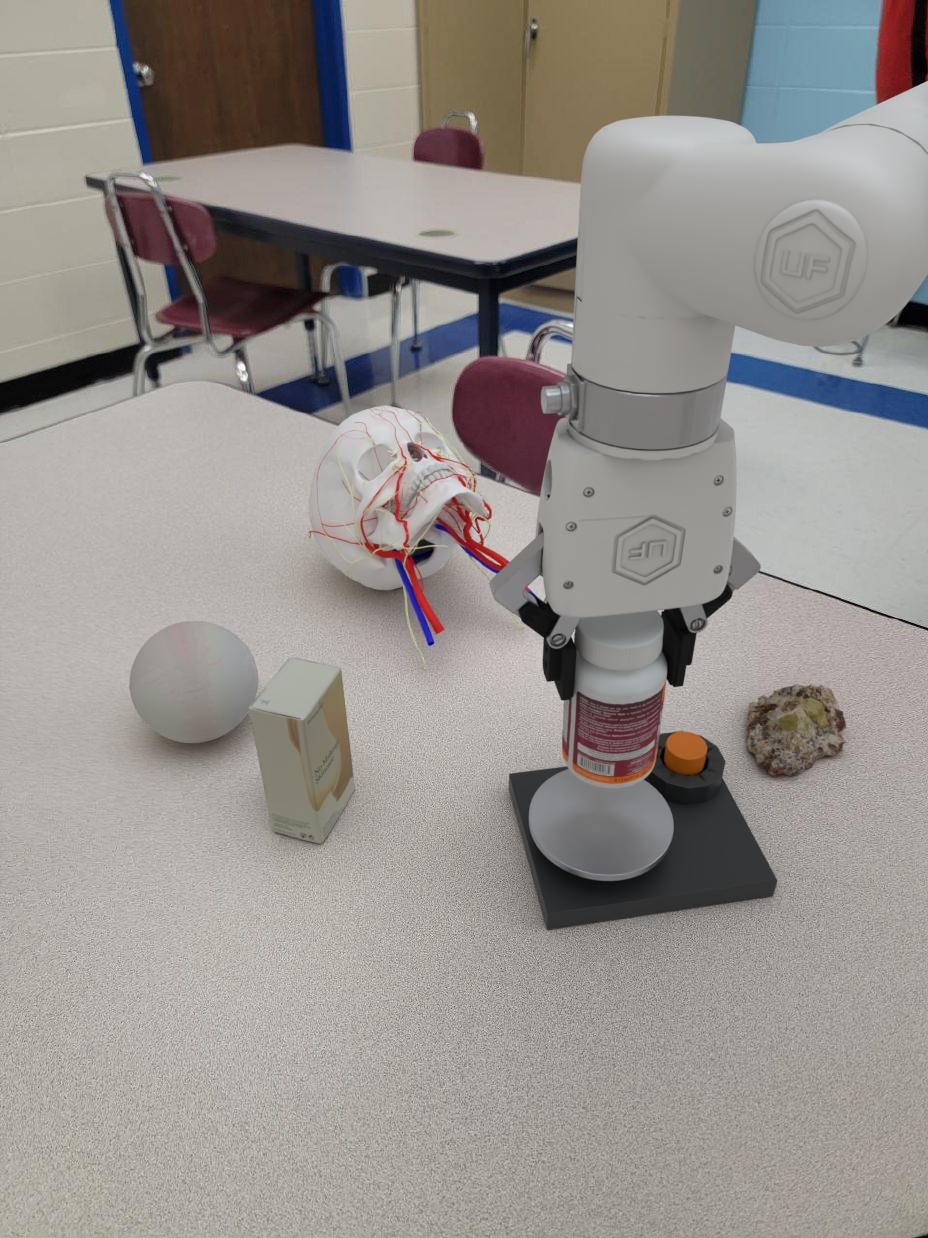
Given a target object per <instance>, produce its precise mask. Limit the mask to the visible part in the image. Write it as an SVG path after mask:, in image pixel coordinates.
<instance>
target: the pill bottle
mask: <svg viewBox="0 0 928 1238" xmlns="http://www.w3.org/2000/svg"><path fill="white" fill-rule="evenodd" d="M663 630H664V623H663V619H662V617H661V613H660V612H659V610H656V611H647V612H638V613H629V614H619V615H610V616H600V617H589V618H581V619H580V621H579V623H578V625H577V626H576V628H575V630H574V635H573V642H574V644H575V646H576V650H577V656H576V669H575V683H574V696H573V697H571V699H570V700H563V711H562V731H561V754H562V758H563V761H564V763H565V766H567V767H568V768H569V770H570V771H571V772H572V773H573V774H574V775H575V776H576V777H577V778H579V779H580V780H582V781H584V782H585V783H588V784H590V785H593V786H597V787H602V788H624V787H629V786H632V785H635V784H637V783H639V782H641V781H642V780H644V779H645V778H646V777H647V776H648V775H649V774H650V773H651V771H652V769H653V767H654V765H655V761H656V755H657V749H658V742H659V735H660V734H661V726H662V718H663V713H664V706H665V705H664V703H665V696H666V688H667V670H668V668H667V662H666V658H665V656H664V654H663V652H662V651H661V650H662V644H663Z"/></svg>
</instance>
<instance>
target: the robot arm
mask: <svg viewBox="0 0 928 1238" xmlns="http://www.w3.org/2000/svg"><path fill="white" fill-rule="evenodd" d="M579 190H580V191H579V209H578V224H577V225H578V229H577V246H576V262H575V263H576V264H575V265H576V266H575V281H574V282H575V285H574V301H573V318H572V319H573V320H572V337H571V338H572V340H571V356H570V357H571V358H570V359H571V360H570V363H567V364H566V375H564V378H563V381H558V382H556V384H555V385H544V386H542V387H541V390H540V405H541V410H542V413H543V414H544V415H549V414H550V415H551V414H557V415H558V416H564V417H562V418H560V419H559V420H557V422H556V425H555V427H554V432H553V434H552V435H553V436H552V439H551V442H550V445H549V450H548V454H547V459H546V463H545V467H544V473H543V478H542V482H541V488H540V495H539V502H538V509H537V515H536V516H537V517H536V526H535V537H534V539H532V540H531V541H530V542H529V543H528V545H526V546H525V547H524V548H523V549H522V550H521V551H520V552H518V554H517V555H515V557H513V559H511V560H510V561H509V563H508V564H507V565H506V566H505V567H504V568H503V569H502V570H501V571H500V572H499V573H498V574H495V575H494V576H493V577H492V578H491V581H490V580H489V588H490V591H491V594H492V597H493V600H494V601H495V602H497V603H498V604H499V605H501V606H502V607H503V608H504V609H506V610H507V611H509V612H510V613H511V614H512V613H513V614H514V615H515V616H516V617H518V618H519V619H520V621H521V622H522V623H523V624H524V625H526V626H527V627H528V628H529V629H531V630H532V631H533V632H535V633H536V634H538V635H539V636H540V637H542V638H543V643H542V644H543V645H542V671H543V675H544V678H545V681H546V682H547V683H549V682H554V686H555V688H556V691H557V693H558V696H559V698H560V699H559V700H561V701H563V702H564V700H570V699H571V697H573V696H574V683H575V669H576V656H577V650H576V646H575V644H574V638H573V637H572V635H573V633H575V628H576V626H577V625H578V623H579V621H580V619H581V618H589V617H600V616H610V615H619V614H629V613H638V612H647V611H656V610H657V611H661V613H660V615H661V617H662V619H663V623H664V630H663V644H662V650H661V651H662V652H663V654H664V656H665V658H666V662H667V668H668V670H667V680H666V682H668V684H669V686H672V688H680V687H683V686H684V683H685V677H686V672H687V667H688V666H691V665H692V664H693V658H694V651H695V646H696V640H697V635H698V633H701V632H703V631H704V630H705V629H706V628H707V626H708V624H709V623H708V622H709V621H708V619H709V618H710V617H711V616H713V615H714V614H715V613H716V612H718V611H719V609H721V608H722V607H723V606H725V605H726V604H727V603H728V602H729V601H730V600H731V599H732V597H733V594H734V592H735V591H736V590H737V591H738V590H739V589H740V588H742V587H743V586H744V585H746V583H748V582H749V581H750V580H751V579H752V578H754V577H755V576H756V575H757V574H758V573H759V572H760V570H761V568H762V567H761V566H762V565H761V563H760V562H759V561H758V559H757V558H756V557H755V556H754V554H753V553H752V552H751V551H750V550H749V549H748V548H747V547H746V546H745V545H744V544H743V543H742V542H741V541H740V540H738V538H736V537H735V526H736V525H735V524H736V512H737V511H736V510H737V450H736V449H737V448H736V436H735V430H734V428H733V427H732V426H731V425H730V424H729V423H727V422H726V421H724V419H722V418H721V417H722V412H723V405H724V399H725V393H726V387H727V380H728V373H729V368H730V362H731V354H732V351H733V350H732V348H733V343H734V337H735V332H736V331H735V330H736V327H739V328H741V329H744V330H747V331H750V332H752V333H755V334H758V335H761V336H764V337H766V338H770V339H773V340H776V341H779V342H783V343H787V344H792V345H796V346H803V347H817V348H821V347H833V346H841V345H846V344H849V343H853V342H855V341H857V340H860V339H862V338H865V337H867V336H869V335H872V334H873V333H874V332H876V331H878V330H880V329H881V328H882V327H884V326H886V324H888V323H889V322H890V321H891V320H893V319H894V318H895V317H896V316H897V315H898V314H899V313H900V312H901V311H902V310H903V309H904V308H905V307H906V305H907V304H908V303H909V301H911V299H913V296H914V295H915V293H916V292H917V291H918V289H919V288H920V286H921V285H922V283H923V282H924V281H925V279H926V278H927V277H928V80H927V81H925V82H923V83H920V84H919V85H916V86H914V87H912V88H910V89H908V90H906V91H903V92H901V93H899V94H897V95H895V96H893V97H891V98H888V99H886V100H884V101H882V102H880V103H878V104H876V105H873V106H871V107H869V108H866V109H865V110H863V111H861V112H858V113H856V114H855V115H853V116H850V117H848V118H845V119H844V120H842V121H839V122H837V123H835V124H834V125H832V126H830V127H828V128H826V129H825V130H823V131H821V132H819V133H817V134H812V135H809V136H806V137H803V138H800V139H797V140H793V141H785V142H783V141H782V142H764V143H763V142H762V143H761V142H759V143H757V141H756V138H755V137H754V135H753V134H752V132H750V130H748V128H746V127H744V126H742V125H740V124H738V123H736V122H733V121H730V120H725V119H721V118H720V119H719V118H712V117H704V116H696V115H695V116H694V115H693V116H692V115H653V116H650V115H649V116H641V117H633V118H632V117H631V118H625V119H621V120H616V121H614V122H611V123H609V124H606V125H605V126H602V127H601V128H600V129H599V130H598V131H596V133H594V135H593V136H592V137H591V139H590V141H589V142H588V145H587V147H586V149H585V151H584V155H583V159H582V166H581V176H580V189H579ZM539 576H540V577H542V579H543V587H544V588H543V589H544V593H545V597H544V599H543V600H542V599H541V598H539V597H538V596H537V595H536V594H535V593H534V592H533V593H534V594H535V595H536V596H535V595H534V594H533V593H531V592H527V591H526V590H525V588H526V587H527V586H529V585H531V584H532V583H533V582H534V581H535V580H536V579H538V578H539Z"/></svg>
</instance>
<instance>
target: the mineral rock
mask: <svg viewBox="0 0 928 1238" xmlns="http://www.w3.org/2000/svg"><path fill="white" fill-rule="evenodd" d="M757 700H758V701H757V702H756V701H751V702H749V704H748V709H749V710H748V714H747V715H748V717H747V721H746V723H745V724H746V729H745V731H746V734H747V736H748V737H747V739H746V741H745V743H746V747H747V749H748V752H751V753H753V754H755V755H754V756H755V759H756V763H757V764H758V766H763V767H765V768H766V769H767V773H768V775H769V776H777V775H781V774H785V775H786V776H790V777H791V776H797V775H800V774H802V773H803V772H804V771H807V770H810V769H811V768H812V767H813V766H814V764H815V762H816V761H817V760H820V759H822V758H824V757H825V756H828V757H835V756H836V755H838V754H839V753H841V752H843V747H844V745H845V744H847V742H846V740H845V739H844V737H843V736H844V734H843V732H844V731H845V729H846V728H847V722H846V719H845V717H844V711H842V710H841V708H840V705H839V702H838V700H837V699H836V696H835V694H834V692H833V690H832V689H831V688H830V687H827V686H824V685H823V684H820V685H815V684H811V683H810V684H809V685H801V684H799V683H798V684H797V683H795V684H793V685H790V686H785V687H781V688H779V689H776V690H773V692H772V694H770V695H769V696H766V695H765V694H762V695H760V696H758V697H757Z"/></svg>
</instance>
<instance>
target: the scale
mask: <svg viewBox="0 0 928 1238" xmlns="http://www.w3.org/2000/svg"><path fill="white" fill-rule="evenodd" d="M677 732H685V731H683V730H679V731H678V730H677V731H671V732H663V733H660V735H659V742H658V749H657V755H656V761H655V765H654V767H653V769H652V771H651V773H650V774H649V775H648V776H647V777H646V778H645V779H644V780H645V781H647V782H648V783H649V784H651V785H652V786H653V787H654V788H655V789H656V790H657V791H658V792H659V793H660V794H661V795H662V796H663V798H664V799H665V800H666V802H667V804H668V806H669V808H670V810H671V813H672V816H673V821H674V831H673V838H672V842H671V845H670V848H669V850H668V852H667V854H666V855H665V856H664V858H663V859H662V860H661V861H660V862H659V863H658V864H657V865H656V866H655V867H653V868H652V869H650V870H649V871H647V872H645V873H643V874H641V875H639V876H636V877H633V878H629V879H624V880H616V881H600V880H592V879H587V878H583V877H580V876H577V875H574V874H572V873H569V872H567V871H565V870H563V869H562V868H560V867H558V866H557V865H555V864H554V863H553V862H551V861H550V860H549V859H548V858H547V857H546V856H545V855H544V854H543V853H542V852H541V851H540V849H539V848H538V847H537V845H536V843H535V842H534V840H533V837H532V835H531V832H530V827H529V809H530V804H531V801H532V798H533V796H534V794H535V793H536V791H537V790H538V789H539V787H540V786H541V785H542V784H543V783H544V782H545V781H547V780H548V779H549V778H551V777H552V776H554V775H556V774H557V773H560V772H562V771H565V770H567V769H569V768H568V767H567V765H565V766H559V767H558V766H557V767H549V768H543V769H542V768H541V769H536V770H535V769H533V770H528V771H520V772H510V773H509V774H508V792H509V795H510V799H511V802H512V806H513V810H514V813H515V817H516V821H517V825H518V829H519V833H520V836H521V839H522V843H523V848H524V850H525V851H524V852H525V855H526V857H527V863H528V865H529V869H530V873H531V877H532V880H533V884H534V888H535V891H536V896H537V899H538V902H539V906H540V910H541V913H542V917H543V920H544V921H543V922H544V924H545V928H546V930H547V931H549V930H554V929H561V928H567V927H574V926H581V925H589V924H596V923H602V922H606V921H607V922H609V921H616V920H621V919H629V918H636V917H642V916H649V915H655V914H662V913H667V912H675V911H682V910H688V909H694V908H702V907H708V906H714V905H716V906H717V905H722V904H729V903H736V902H742V901H748V900H757V899H762V898H769V897H774V894H775V891H776V888H777V884H778V879H777V877H776V875H775V873H774V871H773V869H772V868H771V865H770V864H769V862H768V860H767V858H766V856H765V854H764V853H763V851H762V849H761V847H760V845H759V843H758V841H757V840H756V838H755V836H754V834H753V832H752V830H751V829H750V826H749V825H748V823H747V821H746V819H745V817H744V815H743V813H742V811H741V810H740V808H739V806H738V804H737V803H736V800H735V798H734V796H733V795H732V793H731V791H730V789H729V787H728V786H727V783H726V782H725V780H724V778H723V777H724V771H725V767H726V759H725V758H724V756H723V753H722V752H721V749H720V748H719V747H718V745H716V744H714V743H713V742H712V741H710V740H709V739H707V738H705V737H704V736H702V735H700V734H697V735H698V736H700V737H701V738H702V739H703V740H704V741H705V742H706V745H707V754H706V759H705V764H704V768H703V770H702V771H701V772H700V773H698V774H696V775H692V776H684V775H680V774H676V773H674V772H672V771H671V770H669V769H668V768H667V766H666V765H665V763H664V754H665V748H666V742H667V739H668V738H669V736H671V735H672V734H674V733H677Z"/></svg>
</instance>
